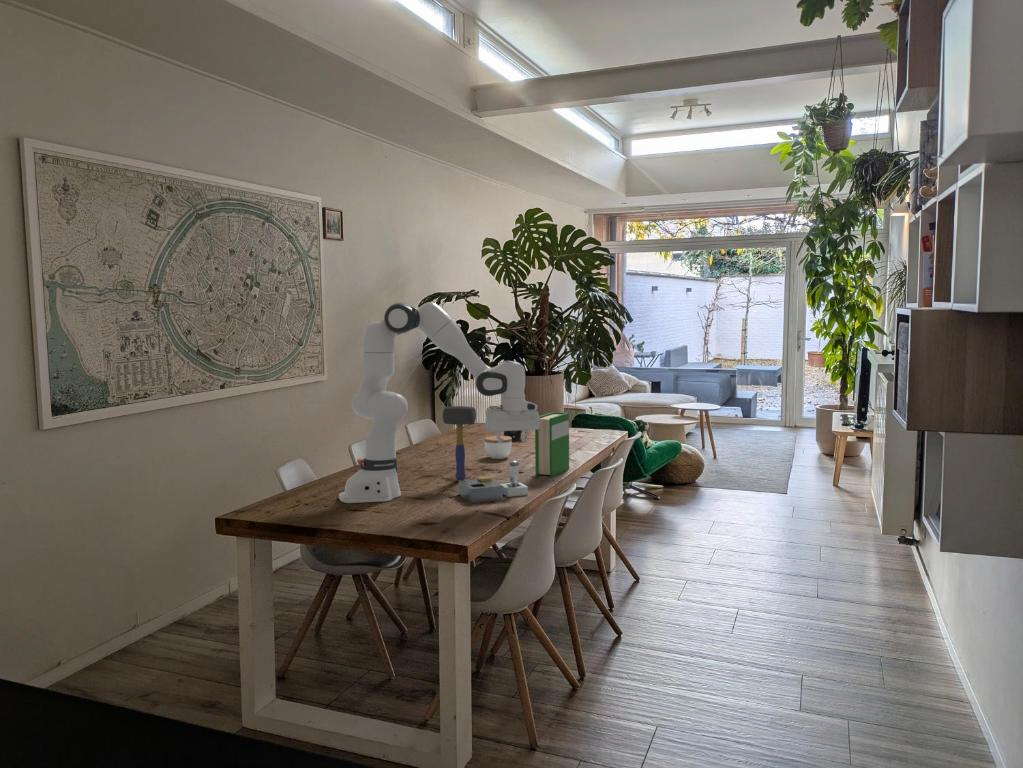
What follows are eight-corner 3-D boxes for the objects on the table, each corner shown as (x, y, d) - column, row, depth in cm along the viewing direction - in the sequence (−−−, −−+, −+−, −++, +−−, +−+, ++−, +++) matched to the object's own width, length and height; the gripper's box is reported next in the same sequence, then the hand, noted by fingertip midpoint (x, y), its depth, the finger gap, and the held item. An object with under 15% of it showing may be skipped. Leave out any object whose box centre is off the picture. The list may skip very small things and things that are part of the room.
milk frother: (508, 441, 396) (507, 413, 394) (494, 437, 409) (493, 409, 408) (532, 439, 402) (532, 411, 401) (517, 434, 416) (517, 407, 415)
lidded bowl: (513, 455, 359) (513, 431, 358) (510, 460, 347) (510, 436, 346) (486, 454, 361) (486, 431, 360) (482, 460, 348) (482, 436, 347)
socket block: (470, 502, 272) (470, 488, 271) (459, 494, 285) (458, 480, 284) (502, 499, 276) (502, 485, 276) (489, 491, 289) (489, 477, 289)
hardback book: (552, 477, 312) (551, 418, 309) (535, 475, 315) (535, 417, 313) (569, 468, 327) (568, 412, 325) (553, 467, 331) (552, 411, 328)
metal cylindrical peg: (511, 494, 283) (511, 462, 282) (508, 492, 286) (507, 460, 285) (520, 493, 284) (520, 461, 283) (517, 491, 287) (516, 460, 286)
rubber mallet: (442, 482, 305) (441, 407, 302) (448, 478, 312) (447, 404, 309) (473, 483, 302) (471, 407, 299) (478, 479, 309) (477, 405, 306)
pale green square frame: (507, 496, 280) (507, 488, 280) (500, 492, 287) (500, 484, 287) (528, 494, 283) (527, 486, 282) (520, 489, 290) (520, 482, 290)
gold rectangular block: (481, 495, 282) (480, 479, 282) (477, 492, 286) (477, 476, 286) (492, 494, 284) (492, 478, 283) (488, 491, 288) (488, 475, 287)
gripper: (488, 406, 275) (488, 445, 276) (541, 405, 282) (541, 442, 283) (483, 405, 281) (483, 442, 282) (535, 403, 288) (534, 440, 289)
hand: (512, 442), depth 283 cm, fingers open, 8 cm apart
